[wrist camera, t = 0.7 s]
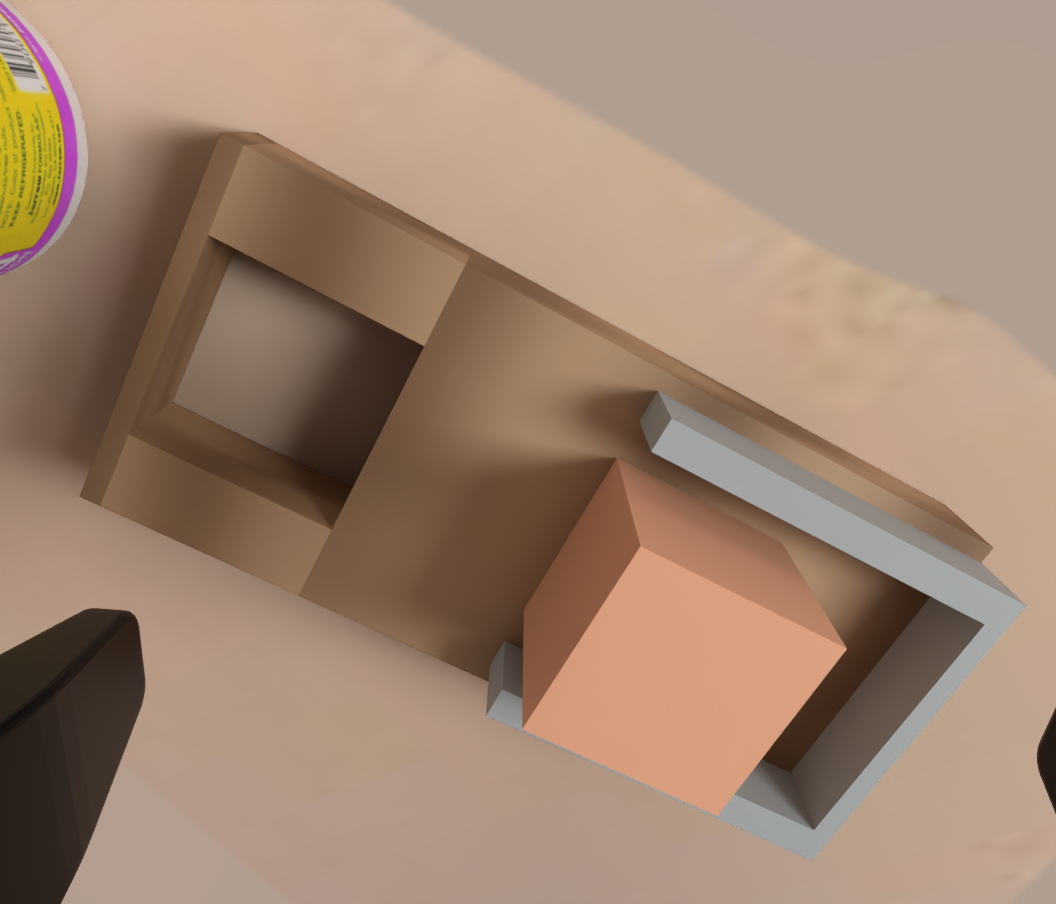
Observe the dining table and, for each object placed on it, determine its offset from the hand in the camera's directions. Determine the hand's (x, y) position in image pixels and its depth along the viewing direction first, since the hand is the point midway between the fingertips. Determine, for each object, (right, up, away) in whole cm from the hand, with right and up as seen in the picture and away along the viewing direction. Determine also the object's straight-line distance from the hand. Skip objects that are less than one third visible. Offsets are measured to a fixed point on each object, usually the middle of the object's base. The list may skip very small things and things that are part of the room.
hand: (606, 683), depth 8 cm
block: (+2, -1, +12) cm, 13 cm away
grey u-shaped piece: (+4, -2, +13) cm, 14 cm away
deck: (-1, +2, +14) cm, 14 cm away
